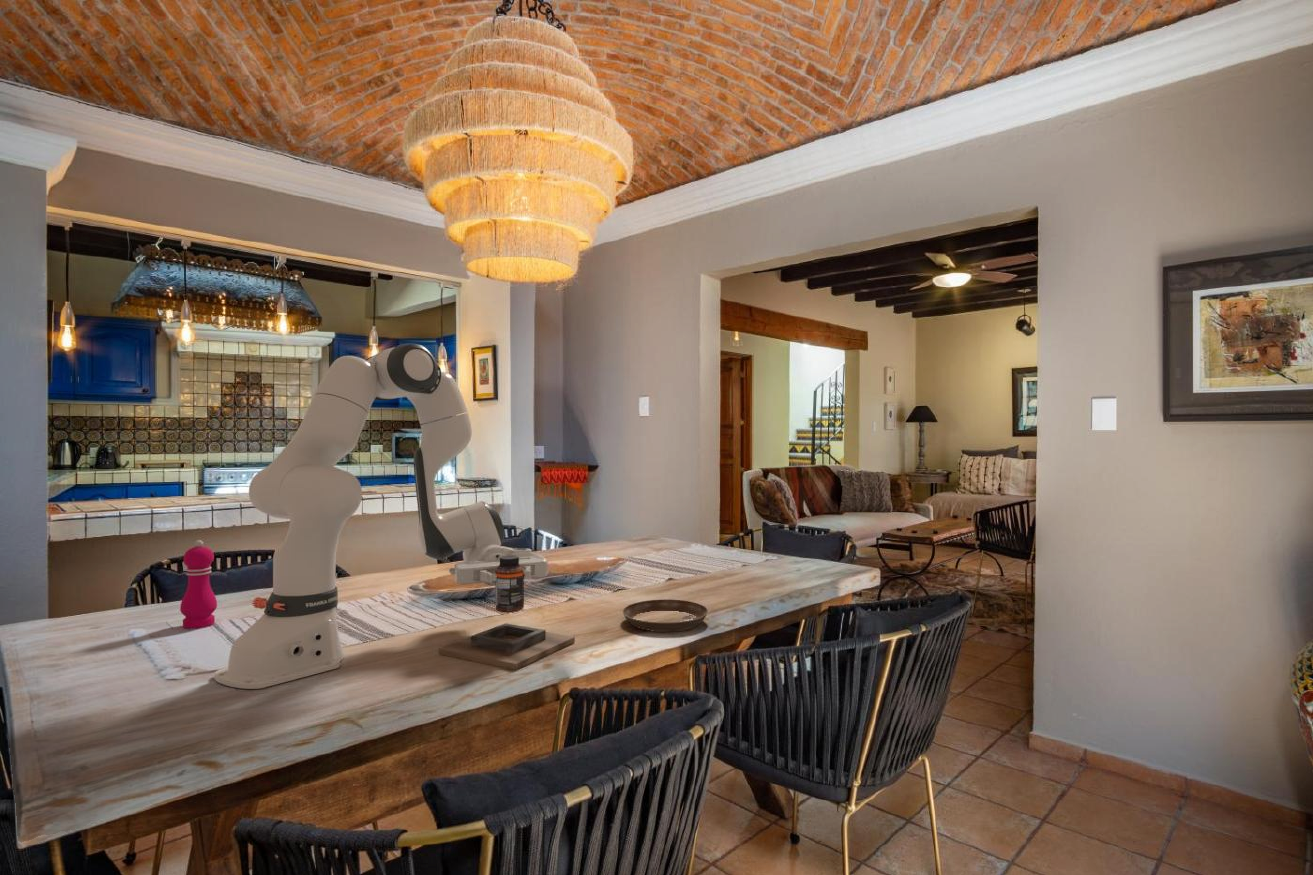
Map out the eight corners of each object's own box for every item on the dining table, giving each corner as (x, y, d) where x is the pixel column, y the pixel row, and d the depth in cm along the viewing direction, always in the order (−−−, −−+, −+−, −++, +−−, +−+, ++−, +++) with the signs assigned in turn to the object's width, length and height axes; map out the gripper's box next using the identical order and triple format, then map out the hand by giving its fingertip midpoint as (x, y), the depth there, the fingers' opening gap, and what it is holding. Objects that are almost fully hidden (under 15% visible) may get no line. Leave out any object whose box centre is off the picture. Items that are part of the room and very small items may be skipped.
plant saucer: (655, 641, 154) (655, 626, 154) (606, 620, 170) (606, 606, 170) (725, 626, 166) (725, 612, 166) (673, 608, 183) (673, 595, 183)
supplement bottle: (508, 604, 152) (509, 552, 151) (529, 608, 148) (529, 555, 148) (489, 610, 146) (489, 557, 146) (510, 614, 143) (510, 560, 143)
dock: (516, 670, 134) (516, 653, 134) (438, 654, 143) (438, 638, 143) (574, 642, 151) (574, 627, 151) (502, 629, 161) (502, 616, 161)
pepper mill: (224, 621, 166) (224, 538, 166) (201, 630, 159) (201, 542, 159) (196, 620, 167) (196, 537, 167) (172, 628, 160) (172, 542, 160)
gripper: (447, 555, 154) (460, 566, 142) (536, 547, 163) (556, 558, 151) (447, 583, 154) (460, 597, 142) (536, 574, 163) (556, 586, 151)
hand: (510, 576), depth 146 cm, fingers closed on supplement bottle, 6 cm apart
